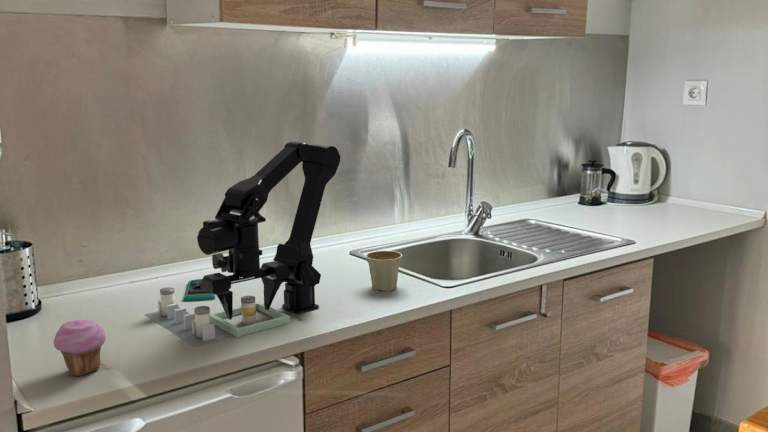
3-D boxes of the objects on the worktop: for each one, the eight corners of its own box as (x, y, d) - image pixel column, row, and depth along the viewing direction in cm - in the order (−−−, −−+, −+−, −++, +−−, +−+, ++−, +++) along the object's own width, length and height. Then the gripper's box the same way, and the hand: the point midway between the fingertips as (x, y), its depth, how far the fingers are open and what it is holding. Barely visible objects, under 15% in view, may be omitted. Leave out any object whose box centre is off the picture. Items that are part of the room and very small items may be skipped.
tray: (259, 312, 168) (259, 301, 167) (290, 327, 158) (290, 316, 158) (208, 325, 160) (207, 314, 159) (237, 342, 150) (236, 330, 150)
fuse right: (207, 332, 153) (205, 304, 151) (214, 336, 150) (212, 308, 149) (193, 335, 151) (191, 308, 149) (200, 339, 148) (198, 312, 147)
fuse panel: (178, 311, 169) (177, 294, 168) (230, 342, 150) (229, 322, 149) (144, 319, 164) (143, 301, 163) (194, 352, 145) (193, 332, 144)
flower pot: (358, 288, 186) (357, 255, 184) (383, 280, 193) (382, 248, 191) (385, 295, 180) (384, 262, 178) (409, 287, 186) (409, 254, 185)
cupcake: (71, 385, 131) (65, 332, 128) (49, 372, 136) (43, 321, 134) (117, 369, 137) (112, 319, 135) (94, 357, 143) (89, 309, 141)
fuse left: (172, 311, 165) (170, 286, 164) (178, 315, 163) (176, 289, 162) (159, 314, 163) (157, 289, 162) (165, 318, 161) (163, 292, 160)
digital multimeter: (217, 288, 188) (217, 277, 188) (215, 306, 174) (214, 294, 173) (188, 289, 187) (187, 278, 186) (183, 308, 173) (183, 296, 172)
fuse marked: (251, 320, 161) (250, 294, 160) (259, 324, 159) (257, 298, 157) (239, 323, 159) (237, 297, 158) (246, 327, 157) (245, 301, 155)
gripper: (263, 231, 167) (266, 296, 170) (187, 245, 155) (192, 314, 159) (290, 240, 159) (292, 308, 162) (212, 255, 147) (216, 328, 150)
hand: (248, 314), depth 158 cm, fingers open, 9 cm apart
